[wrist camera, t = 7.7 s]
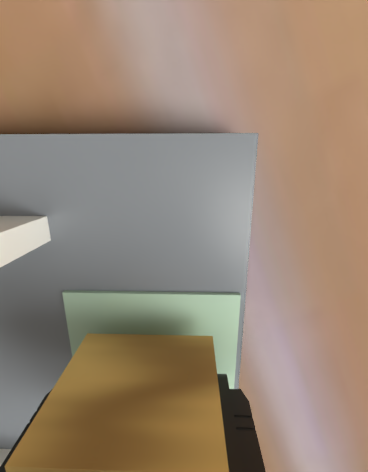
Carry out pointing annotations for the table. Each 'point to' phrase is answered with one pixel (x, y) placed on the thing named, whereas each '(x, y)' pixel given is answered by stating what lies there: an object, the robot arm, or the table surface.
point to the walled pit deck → (117, 250)
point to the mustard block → (130, 409)
